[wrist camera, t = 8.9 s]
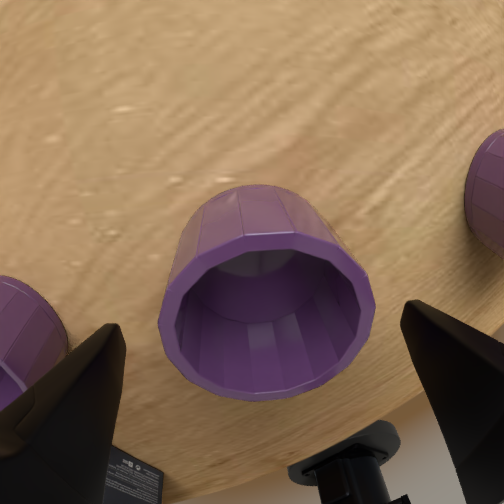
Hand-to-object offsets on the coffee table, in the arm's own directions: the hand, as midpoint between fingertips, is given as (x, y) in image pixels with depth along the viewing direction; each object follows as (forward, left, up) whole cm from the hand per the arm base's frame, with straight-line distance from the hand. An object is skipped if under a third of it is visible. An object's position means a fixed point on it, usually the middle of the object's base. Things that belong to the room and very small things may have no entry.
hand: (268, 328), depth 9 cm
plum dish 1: (+7, +12, -4) cm, 14 cm away
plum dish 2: (0, 0, -4) cm, 4 cm away
